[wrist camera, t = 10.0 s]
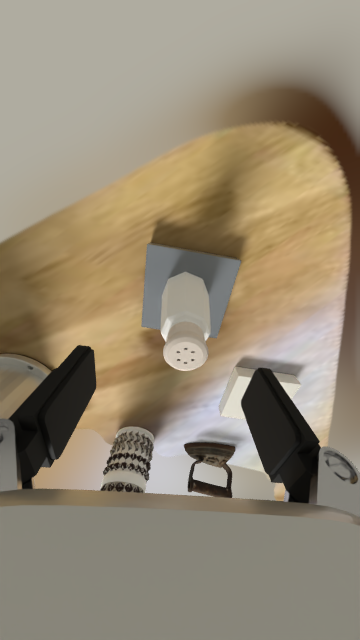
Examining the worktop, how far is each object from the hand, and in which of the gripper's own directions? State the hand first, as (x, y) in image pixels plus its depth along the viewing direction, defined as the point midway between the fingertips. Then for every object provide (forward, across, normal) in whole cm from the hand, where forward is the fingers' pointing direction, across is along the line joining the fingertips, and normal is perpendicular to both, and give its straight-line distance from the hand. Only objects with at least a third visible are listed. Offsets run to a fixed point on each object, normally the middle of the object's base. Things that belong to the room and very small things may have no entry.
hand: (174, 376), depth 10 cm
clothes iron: (+15, -13, +36) cm, 41 cm away
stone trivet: (+14, -16, +15) cm, 26 cm away
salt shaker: (+12, -1, -1) cm, 12 cm away
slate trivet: (+14, -1, -1) cm, 14 cm away
